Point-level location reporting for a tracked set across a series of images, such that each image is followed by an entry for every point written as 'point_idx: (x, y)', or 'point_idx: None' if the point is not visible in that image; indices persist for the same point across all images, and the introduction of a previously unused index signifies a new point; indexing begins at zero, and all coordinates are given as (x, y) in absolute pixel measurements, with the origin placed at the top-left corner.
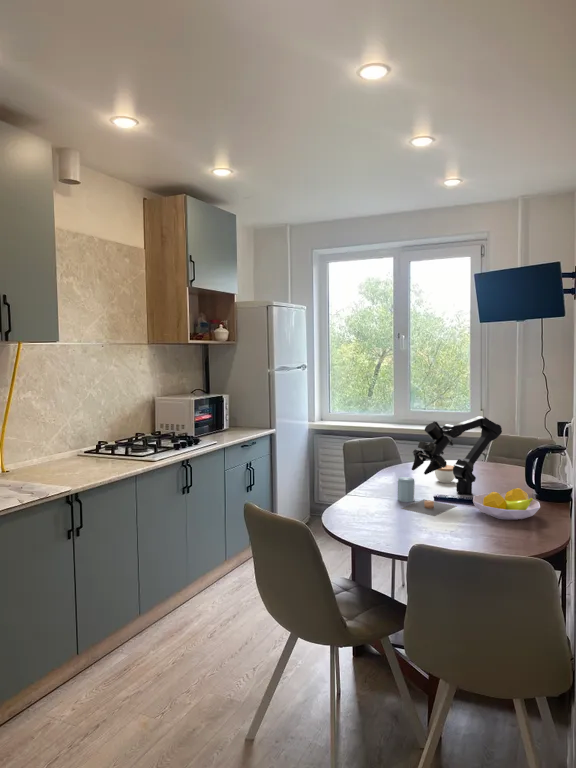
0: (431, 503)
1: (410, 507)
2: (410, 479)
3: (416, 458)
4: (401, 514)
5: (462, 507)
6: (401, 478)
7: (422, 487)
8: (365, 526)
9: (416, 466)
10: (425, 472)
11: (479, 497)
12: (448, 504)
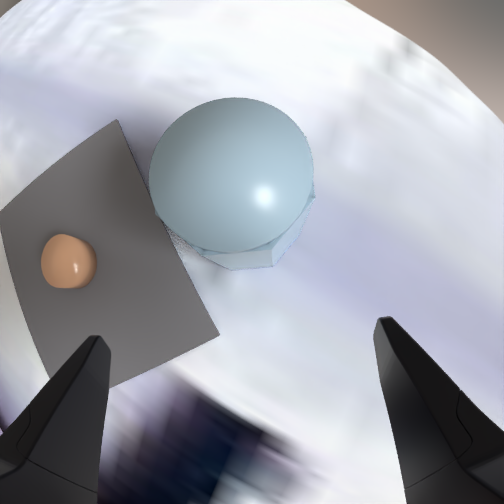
0: (43, 259)
1: (107, 169)
2: (186, 194)
3: (479, 468)
4: (70, 104)
5: None
6: (259, 130)
7: None
8: (62, 6)
9: (397, 408)
10: (80, 349)
11: None
12: None
